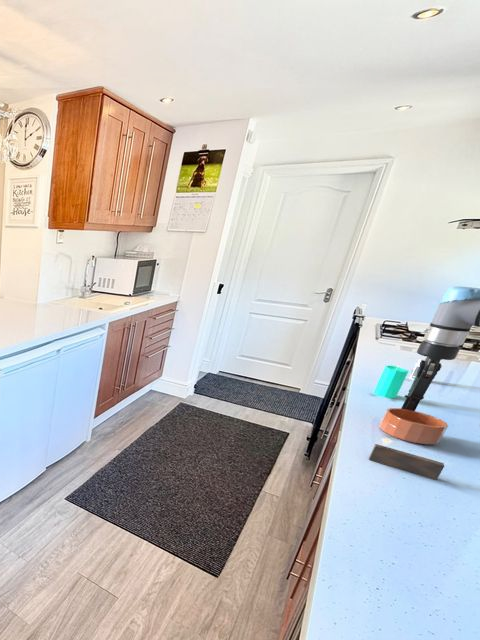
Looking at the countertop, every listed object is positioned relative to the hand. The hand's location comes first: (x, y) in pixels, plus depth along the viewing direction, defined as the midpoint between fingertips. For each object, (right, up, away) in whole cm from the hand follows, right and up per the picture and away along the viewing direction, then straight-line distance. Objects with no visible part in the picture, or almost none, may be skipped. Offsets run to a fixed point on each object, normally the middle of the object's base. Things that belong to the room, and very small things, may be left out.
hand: (403, 417), depth 122 cm
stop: (-24, -11, -21) cm, 34 cm away
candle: (+21, +6, +26) cm, 34 cm away
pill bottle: (+53, +12, +44) cm, 70 cm away
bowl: (-4, -5, -4) cm, 8 cm away
